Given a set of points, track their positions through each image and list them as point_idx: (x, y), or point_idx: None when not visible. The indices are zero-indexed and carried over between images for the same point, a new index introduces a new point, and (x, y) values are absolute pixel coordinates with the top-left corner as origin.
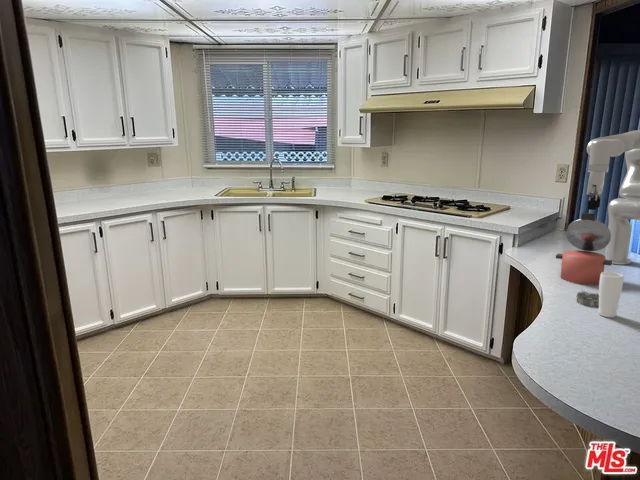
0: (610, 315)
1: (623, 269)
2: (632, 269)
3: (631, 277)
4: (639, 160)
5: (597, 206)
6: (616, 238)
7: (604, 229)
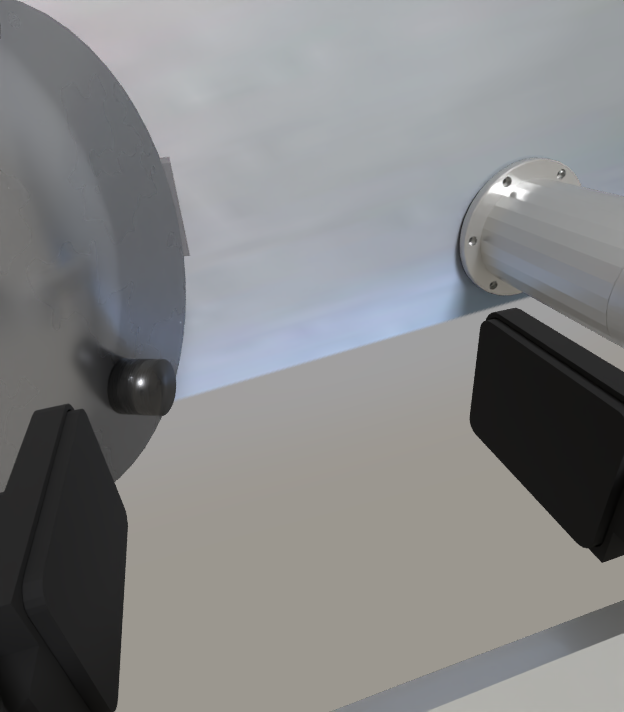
0: None
1: (387, 299)
2: (408, 325)
3: (267, 363)
4: None
5: (476, 413)
6: (576, 278)
7: None
